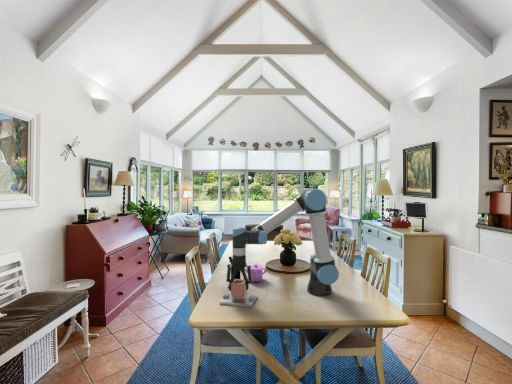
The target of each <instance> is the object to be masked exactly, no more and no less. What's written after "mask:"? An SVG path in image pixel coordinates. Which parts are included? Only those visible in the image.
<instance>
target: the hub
mask: <svg viewBox="0 0 512 384" xmlns="http://www.w3.org/2000/svg"><path fill="white" fill-rule="evenodd" d="M244 284H245V280H244V279H241V278H240V279H235V280H234V281H233V282H232V283H231V291H230V292H231V297H234V298H244V297H245V296H244Z"/></svg>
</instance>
